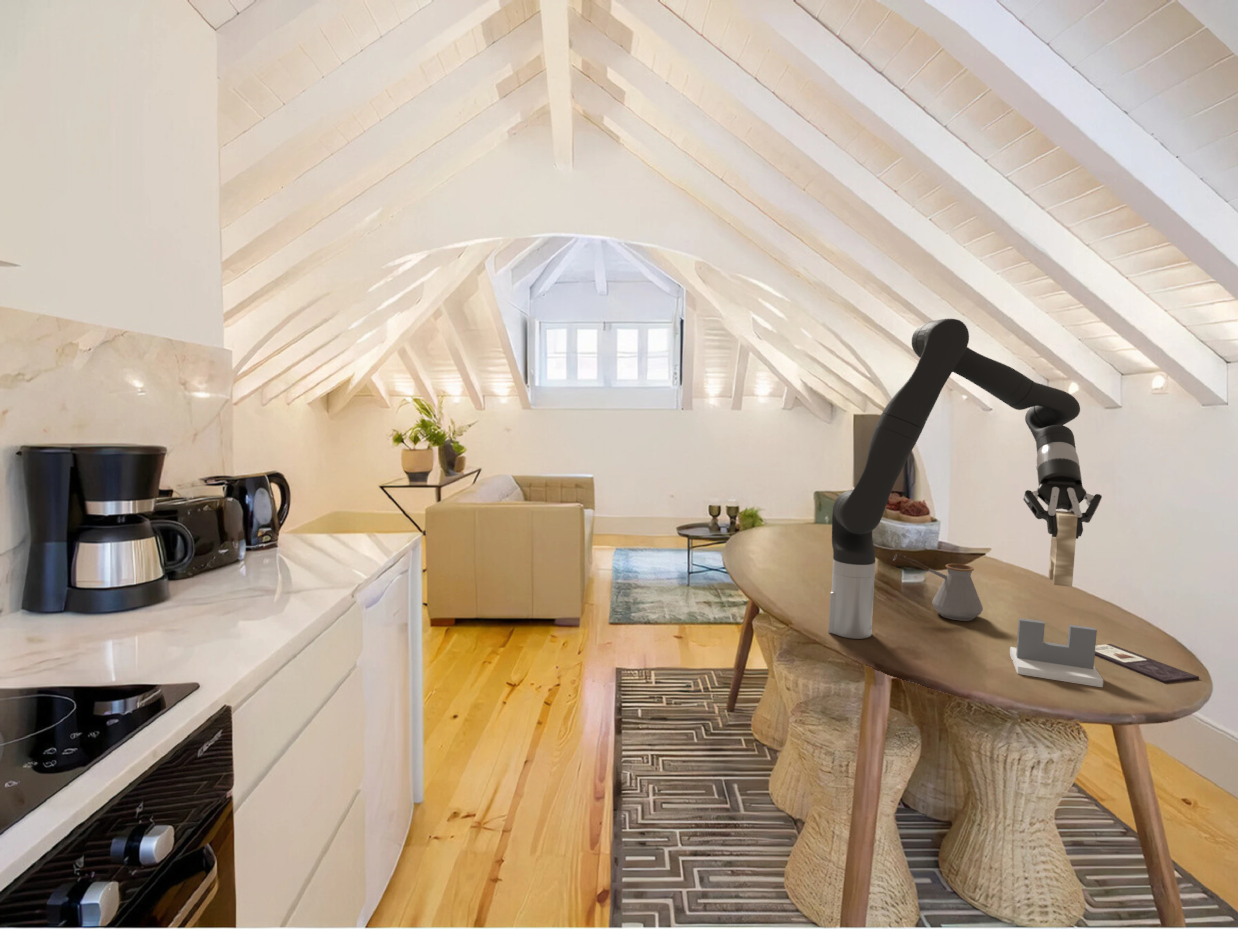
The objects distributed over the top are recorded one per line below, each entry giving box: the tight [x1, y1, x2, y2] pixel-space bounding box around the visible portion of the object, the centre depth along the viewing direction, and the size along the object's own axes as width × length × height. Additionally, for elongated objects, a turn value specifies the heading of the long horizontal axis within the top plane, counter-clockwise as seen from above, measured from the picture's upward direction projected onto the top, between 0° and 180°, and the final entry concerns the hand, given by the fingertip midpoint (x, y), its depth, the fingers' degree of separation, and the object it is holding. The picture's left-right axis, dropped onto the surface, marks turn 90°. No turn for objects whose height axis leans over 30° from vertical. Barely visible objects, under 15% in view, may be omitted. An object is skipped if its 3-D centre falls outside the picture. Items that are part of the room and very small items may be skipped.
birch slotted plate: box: [1048, 510, 1078, 588], centre depth 130 cm, size 3×6×14 cm, turn 156°
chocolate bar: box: [1095, 643, 1200, 684], centre depth 136 cm, size 9×1×18 cm
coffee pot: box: [892, 552, 984, 622], centre depth 166 cm, size 21×12×15 cm, turn 72°
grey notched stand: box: [1009, 617, 1104, 688], centre depth 132 cm, size 14×12×10 cm
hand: (1065, 535), depth 128 cm, fingers closed on birch slotted plate, 3 cm apart
